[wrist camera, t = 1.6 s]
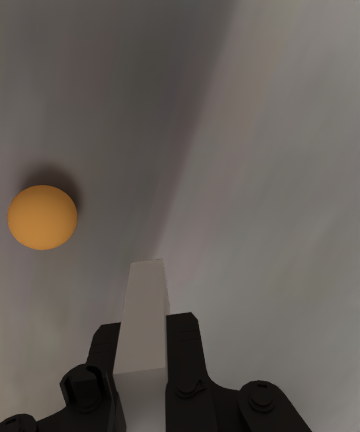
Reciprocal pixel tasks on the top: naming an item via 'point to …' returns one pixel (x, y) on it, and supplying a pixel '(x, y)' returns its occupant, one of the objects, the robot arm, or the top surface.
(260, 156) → the top surface
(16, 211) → the ball
